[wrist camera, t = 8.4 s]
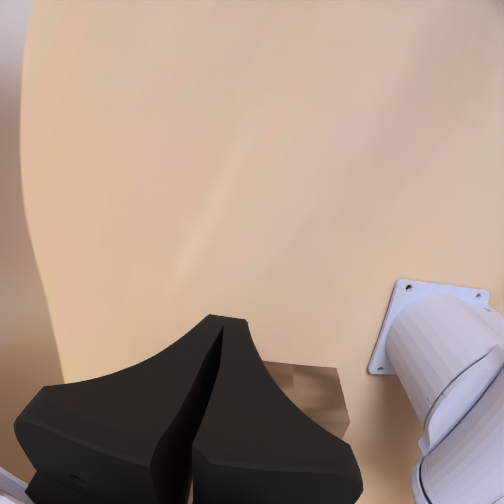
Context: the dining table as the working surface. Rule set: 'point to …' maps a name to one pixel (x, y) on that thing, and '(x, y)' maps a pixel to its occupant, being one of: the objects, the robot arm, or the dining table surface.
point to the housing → (311, 395)
